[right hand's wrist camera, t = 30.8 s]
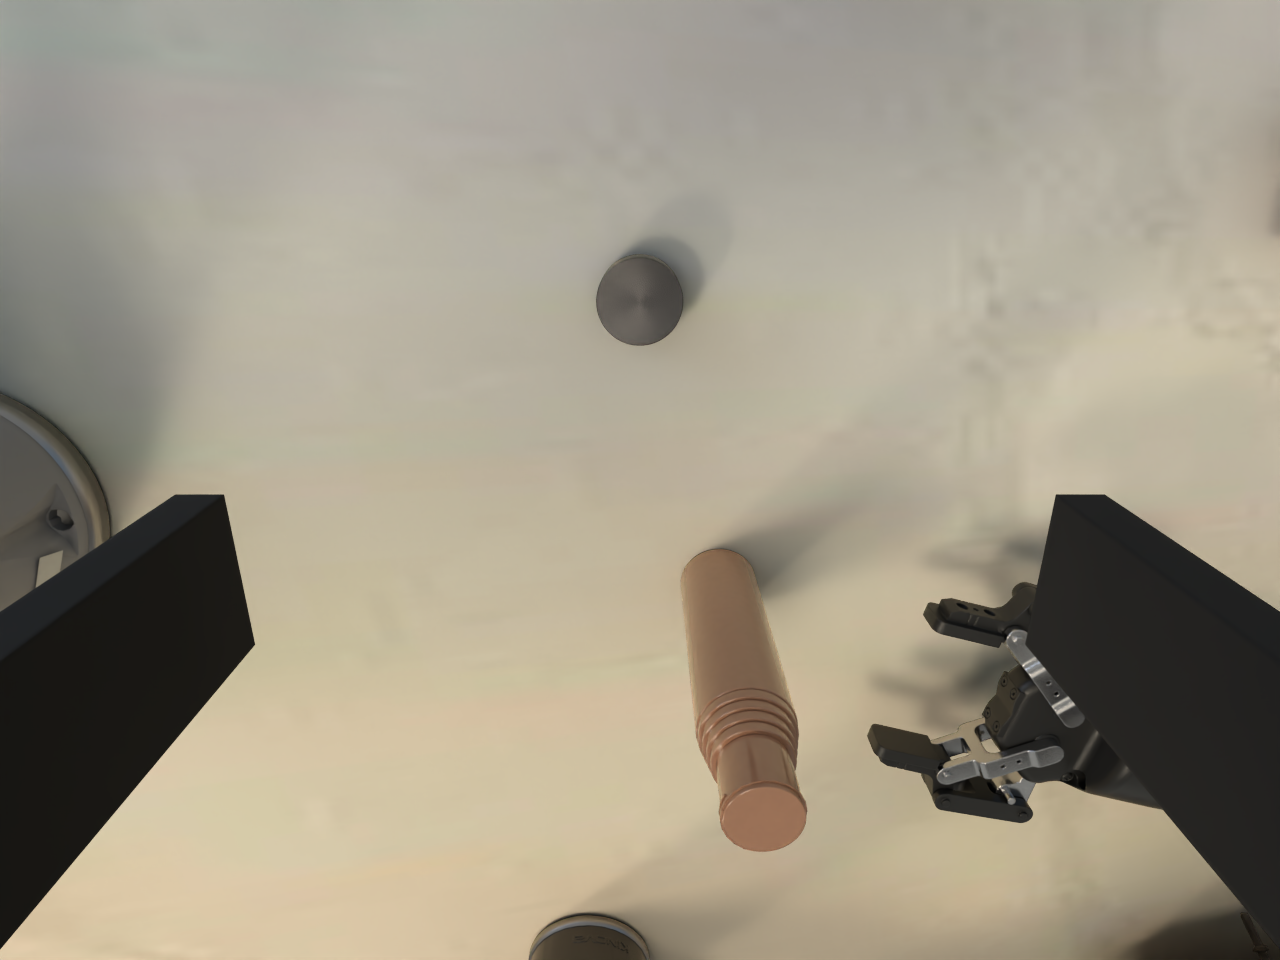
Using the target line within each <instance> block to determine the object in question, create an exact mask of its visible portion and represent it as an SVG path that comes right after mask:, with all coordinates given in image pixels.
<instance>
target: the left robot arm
mask: <svg viewBox="0 0 1280 960" xmlns="http://www.w3.org/2000/svg"><path fill="white" fill-rule="evenodd" d="M1036 589H1037V585H1034V584H1031V583H1027V582H1022V583H1019V584H1017V585H1016V586H1015V587H1014V588H1013V590H1012V596H1013V598H1012V599H1011V600H1010V601H1009V602H1008V603H1007V604H1005V605H1004V606H1002V607H997V608H989V607H985V606H981V605H977V604H973V603H968V602H965V601H960V600H956V599H952V598H949V599H941V602H940V604H936V603H931V602H930V603H928V605H927V607H926V609H925V611H924V613H923V615H924V617H925V619H926V620H927V622H928V623H929V625H930V626H931V628H932V629H933V630H934V631H936V632H938V633H940V634H943V635H947V636H951V637H955V638H960V639H964V640H968V641H972V642H976V643H980V644H984V645H989V646H993V647H997V648H999V647H1000V645H1001V643H1002V642H1003V643H1004V644H1005V646H1006V647H1007V649H1008V650H1009V651H1010V653H1011V654H1012V656H1013V657H1014V658H1015V660H1016V661H1017V663H1018V664H1019V666H1017V667H1015V668H1013V669H1012V670H1011V671H1010V672H1005V671H1004V672H1003V674H1002V676H1001V678H1000V680H999V683H998V688H997V693H996V695H995V696H994V697H993V698H992V699H991V700H990V701H989V703H988V704H987V705H986V707H985V709H984V711H983V713H982V715H983V716H984V717H983V718H980V719H977V720H974V721H970V722H967V723H964V724H962V725H960V726H959V728H958V731H957V732H956V733H953V734H950V735H947V736H943V737H940V738H937V739H934V740H931V741H930V739H929V737H928V736H927V735H922V734H918V733H913V732H909V731H905V730H900V729H896V728H892V727H887V726H883V725H878V724H873V725H872V726H871V728H870V730H869V732H868V735H867V737H868V739H869V742H870V744H871V747H872V749H873V751H874V753H875V754H876V755H877V756H878V757H879V759H880V761H881V762H882V763H884V764H886V765H887V766H891V767H897V768H900V769H905V770H909V771H914V772H918V773H921V776H922V778H923V780H924V782H925V783H926V785H927V787H928V789H929V792H930V794H931V796H932V799H933V801H934V803H935V806H936V807H937V808H938V809H940V810H944V811H951V812H957V813H963V814H969V815H975V816H981V817H987V818H993V819H999V820H1005V821H1011V822H1017V823H1024V822H1027V821H1029V820H1030V819H1031V818H1032V816H1033V812H1032V810H1031V808H1030V807H1029V805H1028V803H1027V800H1028V798H1029V796H1030V794H1031V792H1032V790H1033V788H1034V786H1035V784H1036V783H1042V782H1047V781H1061V782H1064V783H1066V784H1068V785H1071V786H1073V787H1075V788H1077V789H1079V790H1082V791H1084V792H1087V793H1090V794H1094V795H1098V796H1103V797H1107V798H1112V799H1116V800H1120V801H1125V802H1129V803H1134V804H1138V805H1143V806H1147V807H1152V808H1157V809H1161V810H1163V809H1162V808H1161V807H1160V805H1159V804H1158V803H1157V802H1156V801H1155V800H1154V798H1153V797H1152V796H1151V795H1150V794H1149V792H1148V791H1147V790H1146V789H1145V788H1144V786H1143V785H1142V784H1141V783H1140V782H1139V780H1138V779H1137V778H1136V777H1135V776H1134V774H1133V773H1132V772H1131V771H1130V770H1129V768H1128V767H1127V766H1126V765H1125V764H1124V762H1123V761H1122V760H1121V759H1120V758H1119V756H1118V755H1117V754H1116V753H1115V752H1114V750H1113V749H1112V748H1111V747H1110V746H1109V744H1108V743H1107V742H1106V741H1105V740H1104V739H1103V737H1102V736H1101V735H1100V734H1099V733H1098V731H1097V730H1096V729H1095V728H1094V727H1093V725H1092V724H1091V723H1090V722H1089V721H1088V719H1087V718H1086V717H1085V716H1084V715H1083V713H1082V712H1081V711H1080V710H1079V709H1078V707H1077V706H1076V705H1075V704H1074V703H1073V701H1072V700H1071V699H1070V698H1069V697H1068V695H1067V694H1066V693H1065V692H1064V691H1063V689H1062V688H1061V687H1060V686H1059V685H1058V683H1057V682H1056V681H1055V680H1054V679H1053V678H1052V676H1051V675H1050V674H1049V673H1048V672H1047V670H1046V669H1045V668H1044V667H1043V666H1042V664H1041V663H1040V662H1039V661H1038V660H1037V658H1036V657H1035V656H1034V655H1033V654H1032V652H1031V651H1030V650H1029V649H1028V648H1027V646H1026V645H1025V642H1026V637H1027V632H1028V628H1029V623H1030V618H1031V613H1032V608H1033V603H1034V599H1035V594H1036ZM990 738H992V740H993V741H994V743H995V745H996V746H997V747H998V748H999V750H1000V751H1001V752H998V753H989V752H987V751H986V750H985V749H984V747H983V745H982V744H981V742H982V741H984V740H987V739H990ZM961 753H968V754H969V755H967V756H964V757H961V758H957V759H954V760H951V759H950V757H951V756H955V755H958V754H961ZM529 960H650V958H649V952H648V949H647V946H646V944H645V942H644V941H643V939H642V938H641V937H640V936H639V935H638V934H637V933H636V932H635V931H634V930H633V929H631V928H630V927H628V926H627V925H625V924H623V923H621V922H619V921H616V920H613V919H610V918H606V917H600V916H576V917H571V918H567V919H563V920H560V921H558V922H556V923H554V924H552V925H550V926H548V927H547V928H546V929H544V930H543V931H542V932H541V933H540V934H539V935H538V936H537V937H536V939H535V940H534V942H533V944H532V946H531V949H530V954H529Z"/></svg>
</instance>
